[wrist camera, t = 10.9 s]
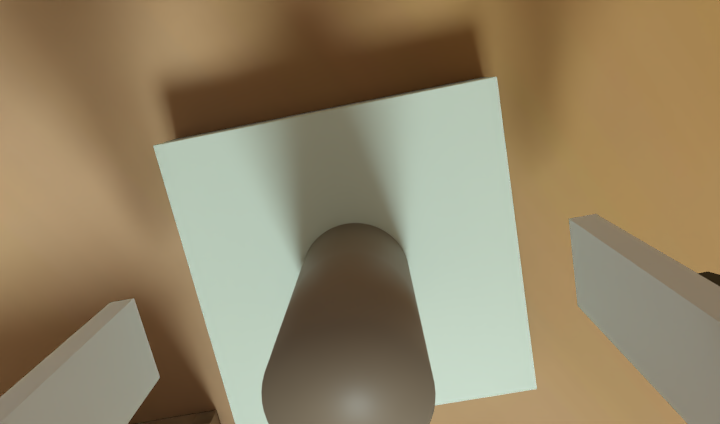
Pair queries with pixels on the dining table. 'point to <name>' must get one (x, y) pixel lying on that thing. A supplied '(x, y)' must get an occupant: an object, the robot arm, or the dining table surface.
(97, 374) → the robot arm
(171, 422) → the box
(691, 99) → the dining table surface
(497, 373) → the lid
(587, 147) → the dining table surface
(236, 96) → the dining table surface
